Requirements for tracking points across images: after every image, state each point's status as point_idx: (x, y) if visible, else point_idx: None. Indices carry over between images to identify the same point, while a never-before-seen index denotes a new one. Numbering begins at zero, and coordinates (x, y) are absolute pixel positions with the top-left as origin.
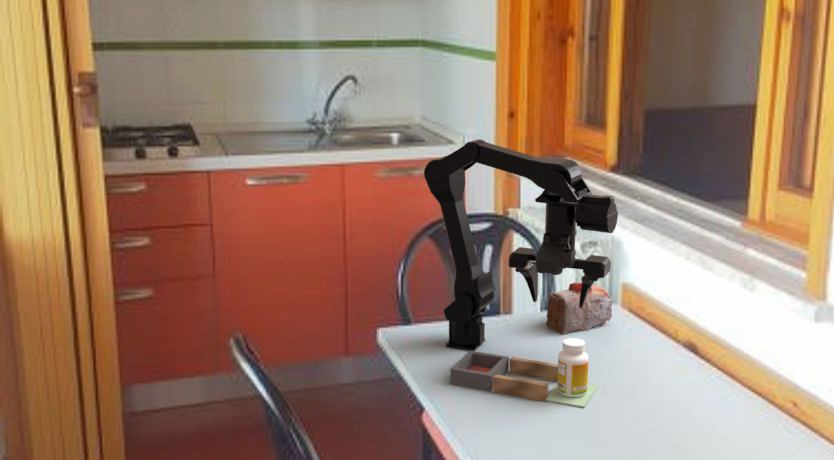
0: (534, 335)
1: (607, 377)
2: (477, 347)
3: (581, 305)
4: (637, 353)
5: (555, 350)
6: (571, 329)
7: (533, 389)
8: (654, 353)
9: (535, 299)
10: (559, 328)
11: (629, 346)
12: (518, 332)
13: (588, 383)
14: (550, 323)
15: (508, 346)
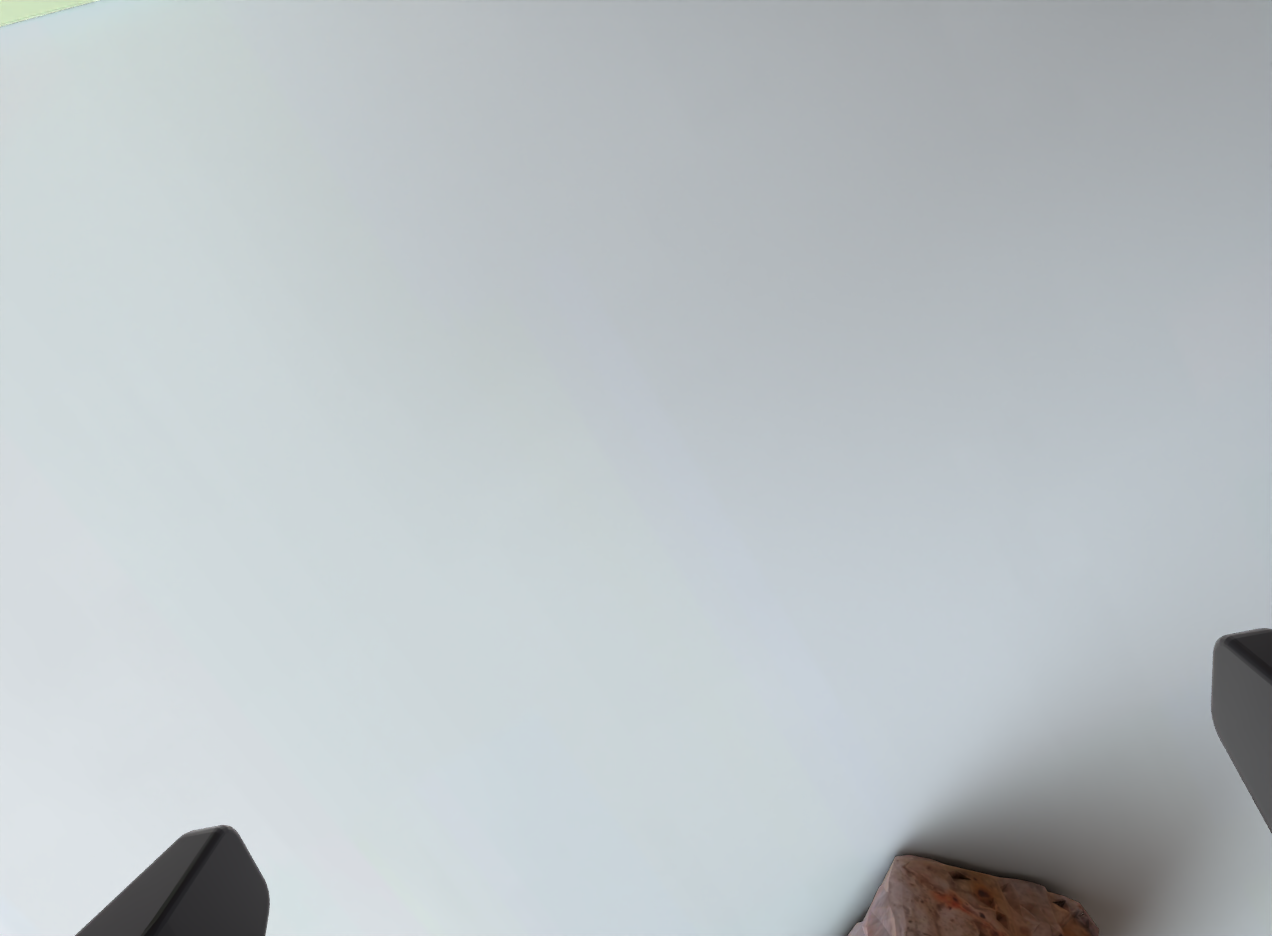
0: (1105, 733)
1: (76, 310)
2: None
3: (149, 873)
4: None
5: (804, 570)
6: (860, 928)
7: None
8: None
9: (1252, 681)
10: (949, 893)
11: (368, 918)
12: None
13: (58, 8)
14: (1052, 924)
15: (1242, 409)
